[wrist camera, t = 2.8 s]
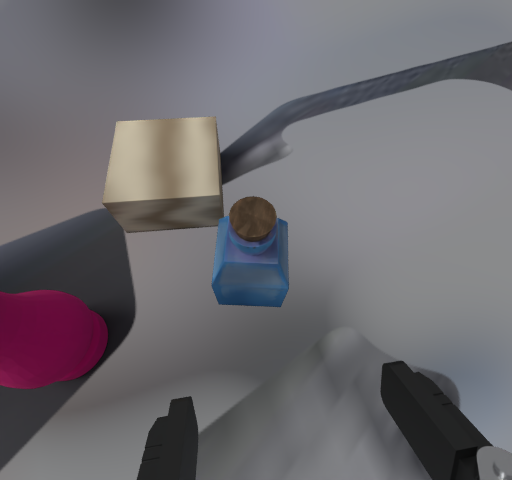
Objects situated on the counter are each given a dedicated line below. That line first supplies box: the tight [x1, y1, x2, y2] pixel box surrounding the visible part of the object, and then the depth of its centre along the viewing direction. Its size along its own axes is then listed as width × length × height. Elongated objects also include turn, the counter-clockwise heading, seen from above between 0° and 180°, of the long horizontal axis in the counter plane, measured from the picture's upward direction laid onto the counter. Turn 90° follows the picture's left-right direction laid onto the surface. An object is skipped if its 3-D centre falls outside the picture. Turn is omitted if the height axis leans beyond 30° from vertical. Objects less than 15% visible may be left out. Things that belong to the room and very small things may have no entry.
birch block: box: [102, 117, 224, 233], centre depth 31 cm, size 11×11×6 cm
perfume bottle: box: [212, 196, 289, 307], centre depth 24 cm, size 6×6×12 cm
